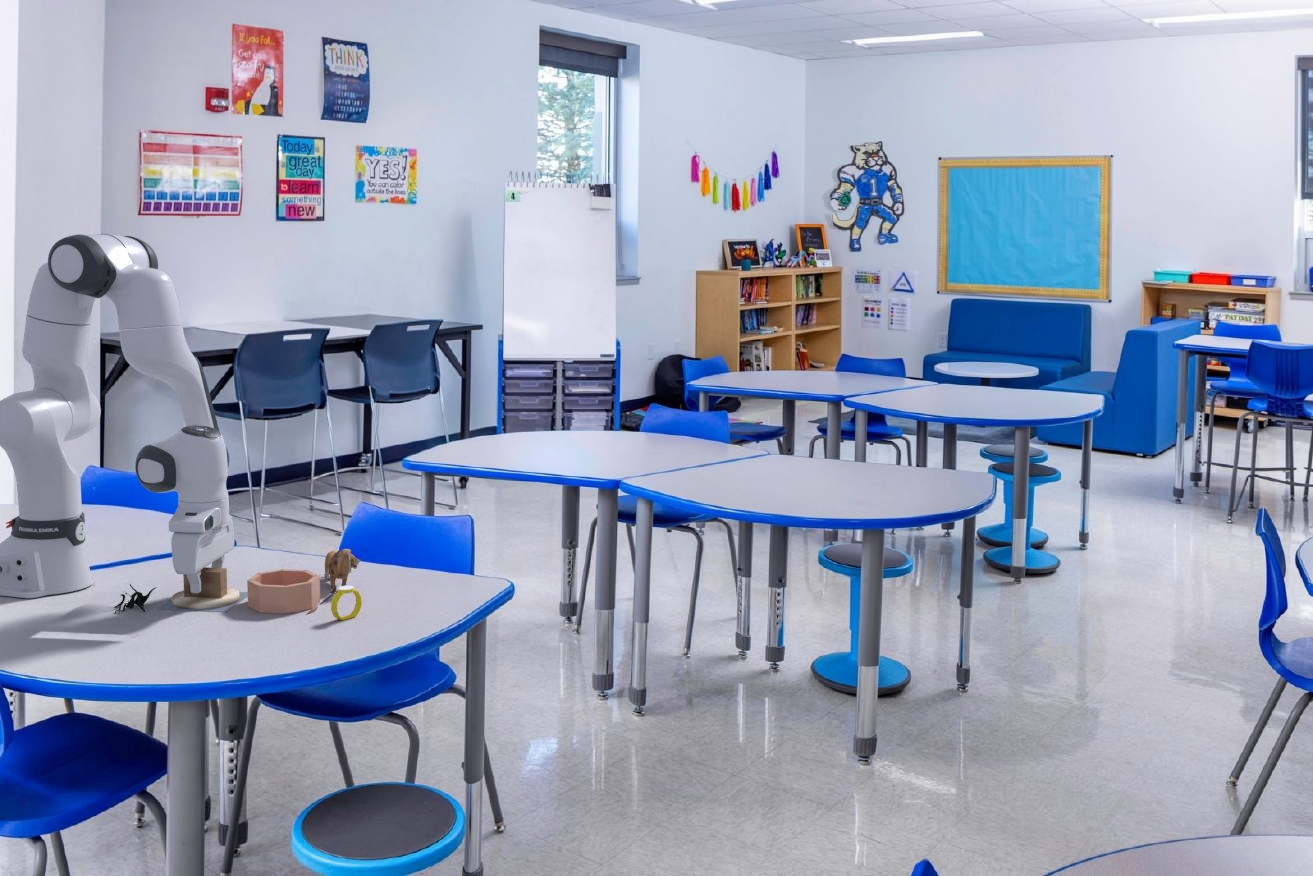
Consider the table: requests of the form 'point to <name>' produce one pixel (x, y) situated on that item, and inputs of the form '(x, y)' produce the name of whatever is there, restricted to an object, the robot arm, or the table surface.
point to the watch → (337, 596)
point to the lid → (207, 592)
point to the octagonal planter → (284, 591)
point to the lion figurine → (339, 566)
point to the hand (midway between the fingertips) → (206, 585)
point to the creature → (138, 601)
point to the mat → (223, 609)
